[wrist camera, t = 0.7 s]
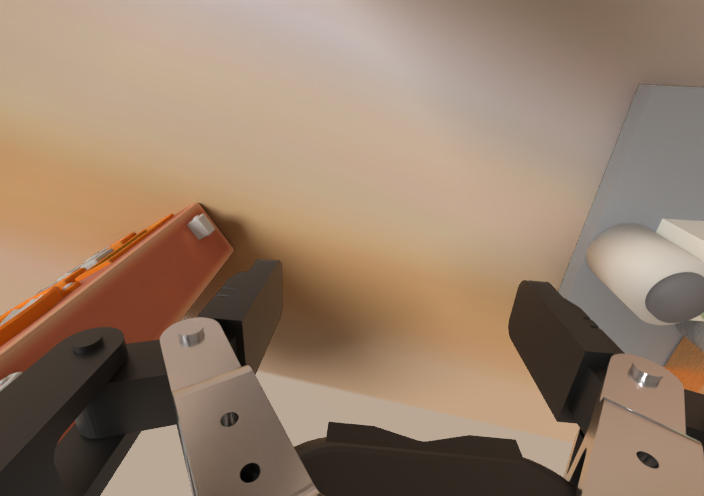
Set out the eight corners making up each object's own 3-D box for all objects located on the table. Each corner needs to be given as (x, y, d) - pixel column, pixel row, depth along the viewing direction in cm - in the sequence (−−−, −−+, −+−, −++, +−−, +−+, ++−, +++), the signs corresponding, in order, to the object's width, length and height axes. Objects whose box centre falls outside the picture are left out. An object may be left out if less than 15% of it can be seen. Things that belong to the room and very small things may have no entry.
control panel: (85, 255, 33) (204, 187, 29) (137, 308, 36) (252, 252, 32) (-293, 505, 15) (-111, 412, 10) (-126, 576, 17) (72, 524, 13)
